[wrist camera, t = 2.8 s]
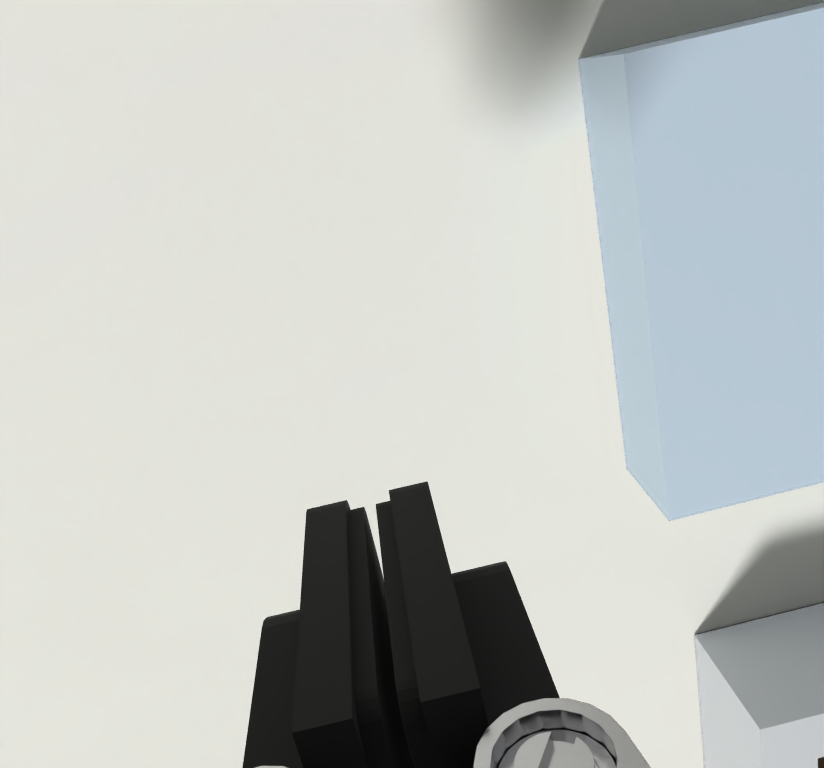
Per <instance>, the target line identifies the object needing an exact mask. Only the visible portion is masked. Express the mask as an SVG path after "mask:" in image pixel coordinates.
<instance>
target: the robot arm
mask: <svg viewBox="0 0 824 768" xmlns="http://www.w3.org/2000/svg"><path fill="white" fill-rule="evenodd" d="M389 494H390V501H387V502H383V503H379V504H376V510H377V520H378V529H379V538H380V547H381V556H382V565H383V574H384V579H383V575H382V571H381V568H380V564H379V560H378V556H377V552H376V548H375V545H374V541H373V537H372V533H371V529H370V525H369V522H368V518H367V514H366V511H365V508H364V507H362V508H357V509H353V510H350V507H349V504H348V502H347V500H345V501H341V502H337V503H333V504H328V505H324V506H320V507H315V508H311V509H307V512H306V526H305V541H304V557H303V572H302V587H301V602H300V610H296V611H292V612H288V613H283V614H279V615H275V616H271V617H267V618H266V619H265V620H264V622H263V626H262V631H261V639H260V646H259V653H258V660H257V668H256V675H255V682H254V689H253V697H252V704H251V711H250V718H249V726H248V733H247V740H246V747H245V755H244V762H243V768H651V767H650V766H649V764H648V763H647V761H646V760H645V759H644V757H643V756H642V754H641V753H640V751H639V750H638V749H637V747H636V746H635V744H634V743H633V741H632V740H631V738H630V737H629V736H628V734H627V733H626V731H625V730H624V729H623V728H622V727H621V726H620V725H619V724H618V723H617V722H616V721H615V720H614V719H613V718H612V717H611V716H610V715H609V714H607V713H605V712H604V711H602V710H600V709H598V708H596V707H595V706H593V705H591V704H588V703H584V702H580V701H576V700H572V699H568V698H559V695H558V692H557V690H556V687H555V685H554V682H553V680H552V677H551V674H550V672H549V669H548V667H547V664H546V661H545V659H544V656H543V654H542V651H541V649H540V646H539V643H538V641H537V638H536V636H535V633H534V631H533V628H532V625H531V623H530V620H529V618H528V615H527V612H526V610H525V607H524V605H523V602H522V600H521V597H520V594H519V592H518V589H517V587H516V584H515V581H514V579H513V576H512V574H511V571H510V569H509V567H508V564H507V563H506V562H505V561H504V562H500V563H496V564H491V565H487V566H483V567H479V568H474V569H470V570H466V571H462V572H457V573H453V574H451V571H450V567H449V564H448V560H447V556H446V552H445V548H444V544H443V540H442V536H441V532H440V529H439V525H438V521H437V517H436V513H435V509H434V505H433V501H432V497H431V493H430V490H429V486H428V482H423V483H419V484H414V485H410V486H406V487H401V488H397V489H393V490H389Z"/></svg>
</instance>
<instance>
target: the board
mask: <svg viewBox="0 0 824 768" xmlns="http://www.w3.org/2000/svg"><path fill="white" fill-rule="evenodd" d="M578 60H579V68H580V77H581V85H582V94H583V102H584V111H585V119H586V128H587V136H588V145H589V153H590V162H591V170H592V179H593V187H594V196H595V204H596V213H597V221H598V230H599V238H600V247H601V255H602V264H603V272H604V281H605V289H606V298H607V306H608V315H609V323H610V332H611V340H612V349H613V357H614V366H615V374H616V383H617V391H618V400H619V408H620V417H621V425H622V434H623V442H624V451H625V459H626V468H627V470H628V471H629V472H630V474H631V475H632V476H633V477H634V478H635V480H636V481H637V482H638V483H639V485H640V486H641V487H642V488H643V490H644V491H645V492H646V493H647V494H648V496H649V497H650V498H651V499H652V501H653V502H654V503H655V504H656V506H657V507H658V508H659V509H660V510H661V512H662V513H663V514H664V515H665V517H666V518H667V519H668V520H669V521H671V520H675V519H679V518H683V517H687V516H691V515H695V514H699V513H703V512H707V511H711V510H715V509H719V508H723V507H727V506H731V505H735V504H739V503H743V502H747V501H751V500H755V499H759V498H763V497H767V496H771V495H775V494H779V493H783V492H787V491H791V490H795V489H799V488H803V487H807V486H811V485H815V484H818V483H822V482H824V2H822V3H818V4H814V5H809V6H805V7H801V8H797V9H792V10H788V11H784V12H779V13H775V14H771V15H766V16H762V17H758V18H753V19H749V20H745V21H741V22H736V23H732V24H728V25H723V26H719V27H715V28H710V29H706V30H702V31H697V32H693V33H689V34H685V35H680V36H676V37H672V38H667V39H663V40H659V41H654V42H650V43H646V44H641V45H637V46H633V47H629V48H624V49H620V50H616V51H611V52H607V53H603V54H598V55H594V56H590V57H585V58H581V59H578Z"/></svg>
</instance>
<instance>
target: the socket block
mask: <svg viewBox="0 0 824 768" xmlns="http://www.w3.org/2000/svg"><path fill="white" fill-rule="evenodd" d="M695 648H696V661H697V674H698V688H699V701H700V714H701V728H702V741H703V754H704V768H818V758H821V757H824V603H821V604H817V605H813V606H809V607H805V608H801V609H797V610H793V611H789V612H785V613H781V614H777V615H773V616H769V617H765V618H761V619H757V620H753V621H749V622H745V623H741V624H737V625H733V626H729V627H725V628H721V629H717V630H713V631H709V632H706V633H702V634H698V635H695Z"/></svg>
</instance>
